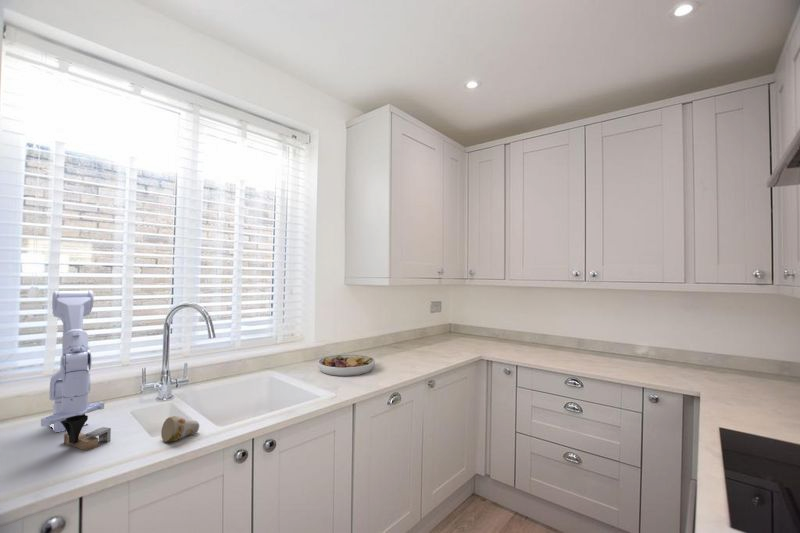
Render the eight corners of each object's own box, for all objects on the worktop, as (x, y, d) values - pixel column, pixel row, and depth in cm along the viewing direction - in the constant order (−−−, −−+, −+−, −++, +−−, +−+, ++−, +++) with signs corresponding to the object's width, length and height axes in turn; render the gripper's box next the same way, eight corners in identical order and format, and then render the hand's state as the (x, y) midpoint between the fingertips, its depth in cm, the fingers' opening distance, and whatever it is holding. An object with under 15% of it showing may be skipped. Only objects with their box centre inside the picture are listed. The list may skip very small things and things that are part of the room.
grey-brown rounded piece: (206, 434, 116) (194, 412, 111) (174, 457, 110) (160, 435, 105) (196, 422, 120) (184, 401, 116) (165, 444, 114) (151, 422, 110)
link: (61, 442, 108) (61, 432, 108) (73, 438, 111) (74, 428, 111) (86, 450, 103) (86, 440, 104) (98, 446, 106) (98, 435, 106)
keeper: (85, 447, 106) (86, 433, 106) (102, 440, 110) (102, 427, 111) (94, 448, 105) (94, 434, 105) (110, 441, 110) (110, 427, 110)
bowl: (327, 362, 211) (327, 348, 211) (379, 364, 208) (379, 350, 208) (309, 376, 181) (309, 360, 181) (369, 379, 178) (369, 362, 179)
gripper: (53, 404, 97) (51, 456, 97) (111, 388, 111) (110, 434, 111) (36, 401, 100) (34, 452, 99) (95, 386, 113) (94, 430, 113)
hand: (73, 442), depth 105 cm, fingers closed, pressing on link
